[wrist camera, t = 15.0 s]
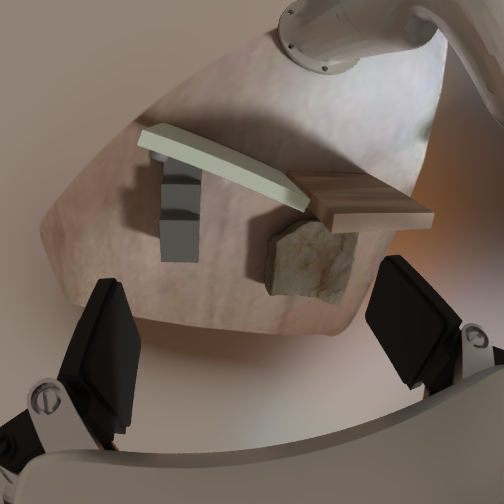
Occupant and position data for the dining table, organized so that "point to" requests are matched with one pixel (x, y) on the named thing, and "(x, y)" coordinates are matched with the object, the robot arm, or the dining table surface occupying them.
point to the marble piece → (310, 261)
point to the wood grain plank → (359, 203)
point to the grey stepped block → (180, 212)
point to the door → (221, 163)
